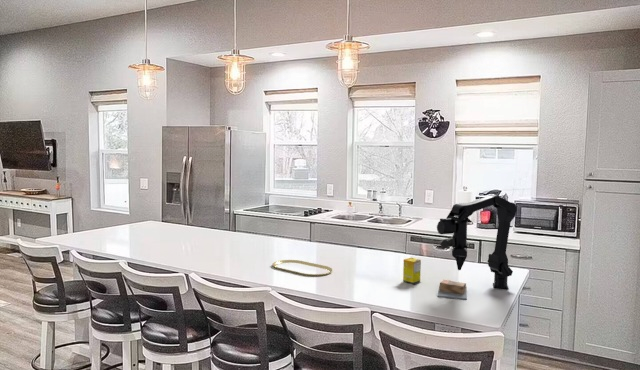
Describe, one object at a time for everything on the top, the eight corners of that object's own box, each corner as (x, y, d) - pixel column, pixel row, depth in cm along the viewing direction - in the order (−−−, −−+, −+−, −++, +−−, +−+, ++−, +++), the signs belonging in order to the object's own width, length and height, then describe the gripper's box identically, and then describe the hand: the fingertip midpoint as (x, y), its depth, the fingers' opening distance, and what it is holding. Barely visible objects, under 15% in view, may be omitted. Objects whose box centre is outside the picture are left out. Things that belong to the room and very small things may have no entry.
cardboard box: (465, 291, 209) (465, 282, 209) (462, 294, 204) (462, 286, 204) (443, 287, 214) (443, 279, 214) (439, 290, 209) (439, 282, 209)
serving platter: (316, 279, 228) (316, 276, 228) (265, 267, 249) (265, 264, 249) (339, 271, 242) (339, 268, 242) (288, 260, 264) (288, 258, 264)
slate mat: (439, 285, 220) (439, 284, 220) (466, 287, 216) (466, 286, 216) (437, 296, 202) (437, 295, 202) (466, 299, 199) (466, 298, 199)
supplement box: (410, 279, 229) (411, 257, 228) (420, 282, 224) (421, 259, 223) (402, 281, 225) (403, 259, 224) (412, 284, 220) (413, 261, 219)
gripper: (442, 228, 220) (441, 261, 221) (440, 235, 202) (439, 271, 203) (467, 229, 216) (466, 262, 218) (467, 237, 199) (466, 273, 200)
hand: (459, 267), depth 210 cm, fingers open, 9 cm apart
